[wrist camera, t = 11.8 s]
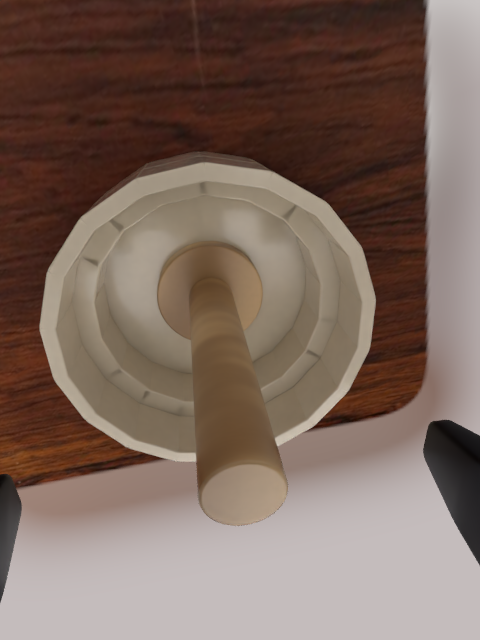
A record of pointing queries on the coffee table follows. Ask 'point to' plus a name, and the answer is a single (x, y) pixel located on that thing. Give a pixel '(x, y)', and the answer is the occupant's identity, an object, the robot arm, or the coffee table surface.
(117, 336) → the bowl
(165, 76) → the coffee table surface
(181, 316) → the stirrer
